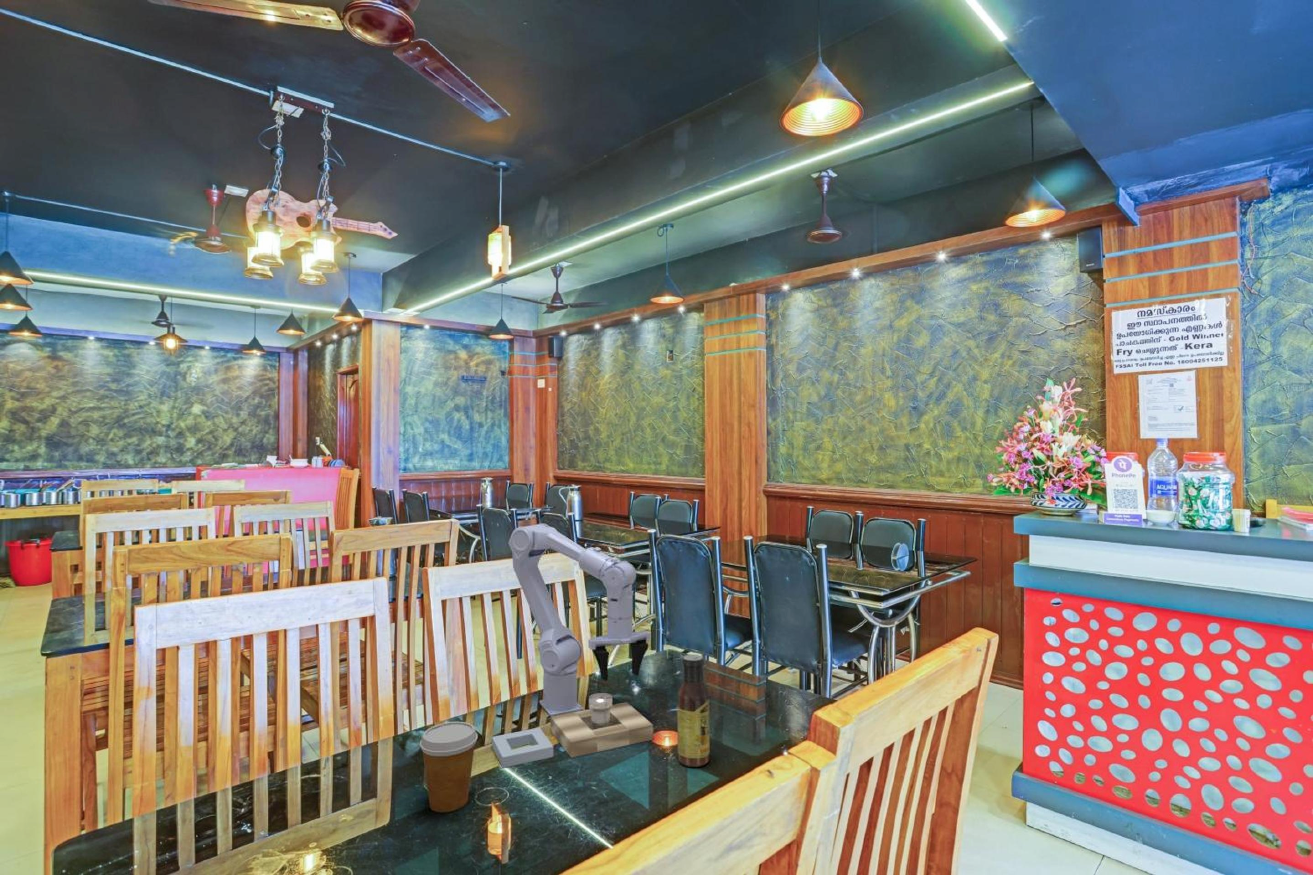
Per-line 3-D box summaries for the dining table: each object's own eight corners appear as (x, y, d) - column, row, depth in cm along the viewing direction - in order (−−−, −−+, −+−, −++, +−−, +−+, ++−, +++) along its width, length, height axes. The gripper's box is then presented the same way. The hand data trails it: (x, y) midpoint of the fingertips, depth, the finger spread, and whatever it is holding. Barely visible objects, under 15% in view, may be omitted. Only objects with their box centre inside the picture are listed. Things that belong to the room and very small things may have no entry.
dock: (550, 730, 138) (550, 716, 138) (626, 715, 146) (626, 701, 146) (571, 757, 125) (571, 742, 125) (653, 739, 133) (653, 724, 133)
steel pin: (585, 732, 136) (585, 695, 137) (607, 728, 139) (607, 691, 139) (593, 742, 132) (593, 703, 132) (616, 737, 134) (615, 699, 134)
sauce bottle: (707, 770, 120) (706, 663, 120) (675, 767, 121) (674, 662, 122) (711, 754, 126) (710, 653, 127) (680, 751, 127) (679, 651, 128)
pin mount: (491, 746, 130) (491, 736, 130) (539, 736, 135) (539, 727, 135) (502, 767, 121) (502, 757, 121) (553, 756, 126) (553, 746, 126)
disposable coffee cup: (474, 783, 115) (475, 717, 116) (480, 810, 106) (480, 738, 107) (419, 794, 112) (419, 725, 112) (419, 823, 103) (420, 748, 103)
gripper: (596, 624, 138) (596, 687, 137) (656, 616, 144) (656, 676, 144) (585, 617, 144) (585, 677, 144) (643, 609, 150) (643, 667, 150)
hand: (620, 676), depth 144 cm, fingers open, 7 cm apart
